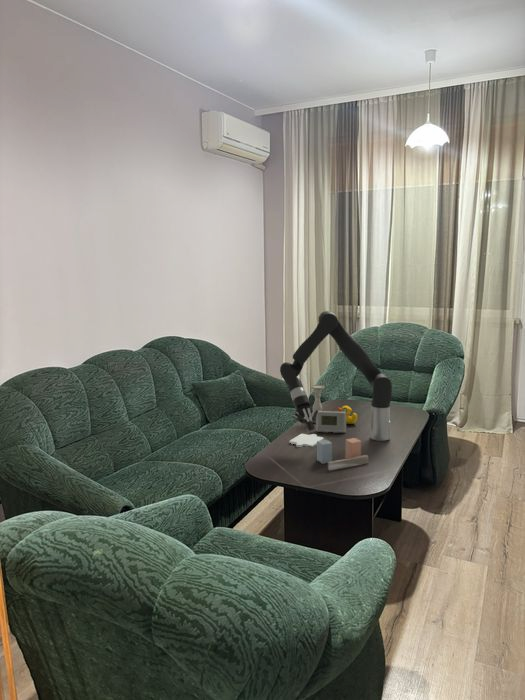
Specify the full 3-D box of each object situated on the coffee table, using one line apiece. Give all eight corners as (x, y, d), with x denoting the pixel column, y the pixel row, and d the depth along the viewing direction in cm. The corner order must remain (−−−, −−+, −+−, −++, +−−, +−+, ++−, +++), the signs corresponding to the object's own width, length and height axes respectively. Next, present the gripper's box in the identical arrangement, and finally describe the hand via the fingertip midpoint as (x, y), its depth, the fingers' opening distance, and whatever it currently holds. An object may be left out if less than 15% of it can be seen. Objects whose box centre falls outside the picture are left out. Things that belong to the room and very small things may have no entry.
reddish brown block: (345, 458, 248) (345, 439, 246) (354, 456, 250) (354, 437, 248) (351, 461, 243) (351, 442, 242) (360, 460, 245) (361, 441, 243)
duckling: (335, 423, 301) (335, 406, 300) (339, 420, 306) (339, 403, 304) (355, 426, 296) (355, 408, 294) (358, 423, 301) (358, 406, 299)
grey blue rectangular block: (316, 460, 246) (316, 441, 244) (326, 458, 248) (326, 439, 246) (322, 463, 241) (322, 444, 240) (332, 462, 243) (332, 443, 242)
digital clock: (314, 432, 287) (314, 413, 285) (318, 427, 295) (318, 408, 293) (344, 435, 281) (344, 415, 279) (347, 430, 290) (348, 411, 288)
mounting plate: (303, 435, 283) (303, 432, 282) (326, 439, 276) (326, 436, 275) (286, 446, 268) (286, 442, 267) (309, 450, 261) (309, 446, 261)
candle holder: (324, 423, 301) (324, 388, 297) (308, 423, 302) (308, 387, 299) (325, 419, 309) (326, 384, 306) (310, 418, 311) (310, 384, 307)
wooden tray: (313, 461, 246) (313, 452, 246) (351, 454, 254) (351, 446, 253) (329, 472, 234) (329, 463, 233) (368, 464, 242) (368, 456, 241)
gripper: (290, 396, 256) (302, 428, 247) (314, 393, 262) (327, 424, 253) (285, 404, 262) (296, 435, 253) (309, 401, 267) (321, 431, 258)
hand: (311, 429), depth 253 cm, fingers closed
